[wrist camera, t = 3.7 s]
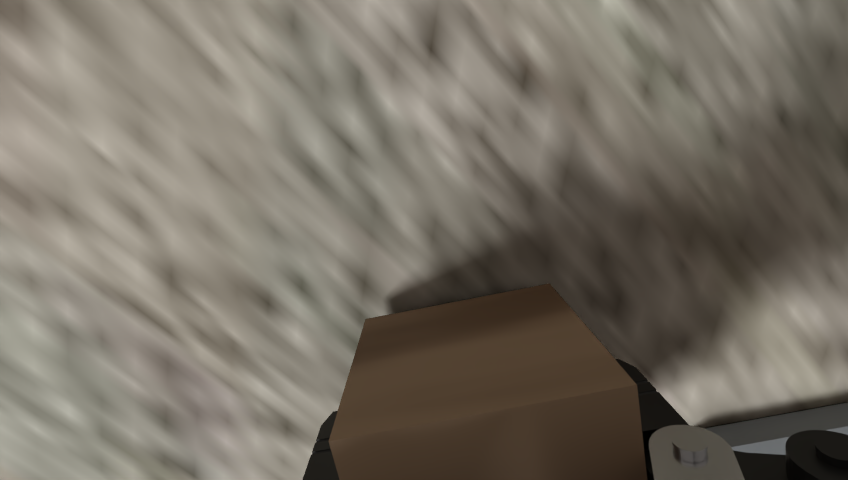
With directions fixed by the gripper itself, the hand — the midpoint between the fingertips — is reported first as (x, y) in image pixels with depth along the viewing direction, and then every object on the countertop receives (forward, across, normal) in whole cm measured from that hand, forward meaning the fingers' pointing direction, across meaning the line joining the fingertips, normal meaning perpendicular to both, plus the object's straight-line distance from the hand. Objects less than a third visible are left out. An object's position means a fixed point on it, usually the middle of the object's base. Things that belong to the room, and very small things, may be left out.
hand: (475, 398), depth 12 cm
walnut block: (+1, 0, 0) cm, 1 cm away
